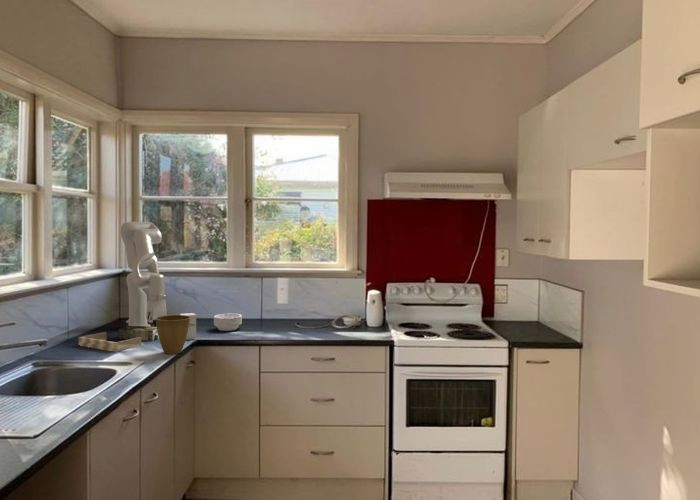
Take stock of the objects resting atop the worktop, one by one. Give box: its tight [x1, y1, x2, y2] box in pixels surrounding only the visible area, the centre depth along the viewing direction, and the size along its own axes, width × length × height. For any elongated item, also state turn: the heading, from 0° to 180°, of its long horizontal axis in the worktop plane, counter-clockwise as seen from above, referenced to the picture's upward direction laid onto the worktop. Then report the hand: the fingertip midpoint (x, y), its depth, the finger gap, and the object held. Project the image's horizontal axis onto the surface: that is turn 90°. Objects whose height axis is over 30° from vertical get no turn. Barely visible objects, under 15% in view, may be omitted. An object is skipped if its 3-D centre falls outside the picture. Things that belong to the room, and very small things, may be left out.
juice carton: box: [117, 325, 159, 342], centre depth 260 cm, size 20×10×6 cm, turn 84°
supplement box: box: [178, 312, 197, 341], centre depth 259 cm, size 7×7×13 cm
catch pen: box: [77, 331, 142, 353], centre depth 243 cm, size 26×14×4 cm, turn 62°
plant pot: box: [155, 314, 190, 355], centre depth 230 cm, size 15×15×16 cm
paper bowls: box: [213, 312, 243, 332], centre depth 283 cm, size 15×15×8 cm
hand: (157, 332), depth 268 cm, fingers closed
